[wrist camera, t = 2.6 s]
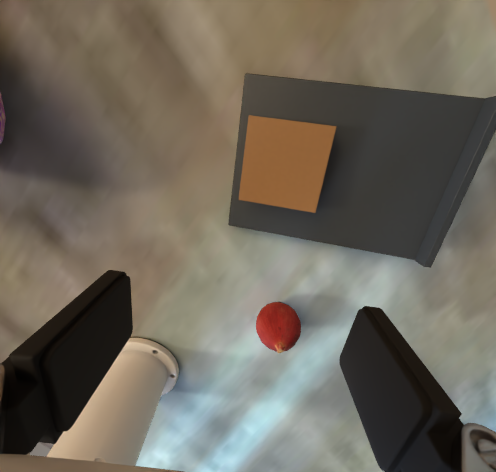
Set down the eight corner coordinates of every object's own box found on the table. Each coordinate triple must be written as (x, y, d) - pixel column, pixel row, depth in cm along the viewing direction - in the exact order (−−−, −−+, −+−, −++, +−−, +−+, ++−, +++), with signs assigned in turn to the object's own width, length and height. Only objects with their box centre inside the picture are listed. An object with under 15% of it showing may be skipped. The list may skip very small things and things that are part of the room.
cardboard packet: (239, 194, 27) (237, 202, 23) (249, 118, 24) (248, 113, 20) (310, 204, 27) (319, 213, 23) (327, 130, 25) (341, 127, 21)
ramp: (229, 222, 30) (223, 240, 24) (245, 76, 24) (243, 54, 18) (398, 245, 30) (430, 267, 25) (452, 107, 25) (511, 95, 19)
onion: (302, 298, 34) (316, 342, 26) (285, 328, 35) (293, 376, 28) (265, 285, 33) (269, 325, 25) (249, 315, 35) (249, 361, 27)
